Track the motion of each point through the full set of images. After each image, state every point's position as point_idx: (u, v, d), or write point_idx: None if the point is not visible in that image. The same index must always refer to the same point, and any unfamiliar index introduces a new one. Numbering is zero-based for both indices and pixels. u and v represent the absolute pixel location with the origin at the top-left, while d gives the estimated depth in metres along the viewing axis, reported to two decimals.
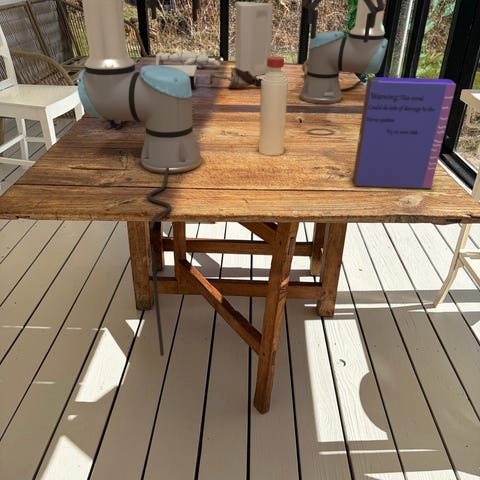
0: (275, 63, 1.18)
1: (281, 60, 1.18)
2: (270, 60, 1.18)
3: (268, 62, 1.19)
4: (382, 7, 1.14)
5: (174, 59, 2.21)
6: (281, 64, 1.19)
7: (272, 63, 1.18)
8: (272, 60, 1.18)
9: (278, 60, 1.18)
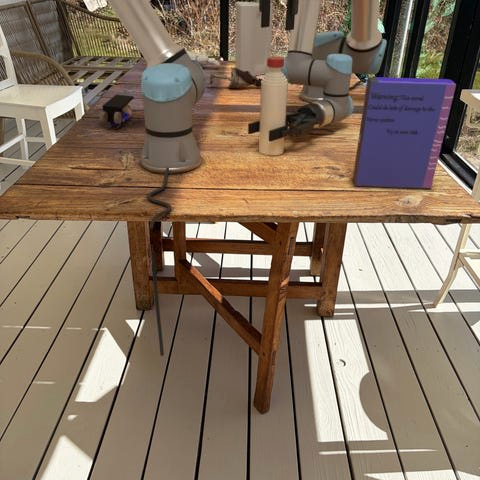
0: (275, 63, 1.18)
1: (281, 60, 1.18)
2: (270, 60, 1.18)
3: (268, 62, 1.19)
4: None
5: None
6: (281, 64, 1.19)
7: (272, 63, 1.18)
8: (272, 60, 1.18)
9: (278, 60, 1.18)
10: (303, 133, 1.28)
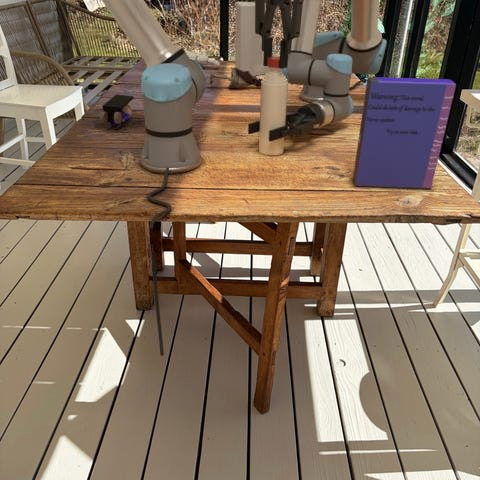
0: (275, 63, 1.18)
1: None
2: (270, 60, 1.18)
3: (268, 62, 1.19)
4: None
5: None
6: None
7: (272, 63, 1.18)
8: (272, 60, 1.18)
9: (278, 60, 1.18)
10: (303, 133, 1.28)
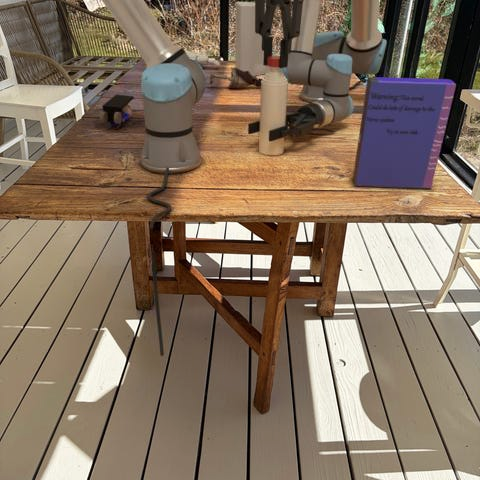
0: None
1: None
2: None
3: None
4: None
5: None
6: None
7: None
8: None
9: None
10: (303, 133, 1.28)
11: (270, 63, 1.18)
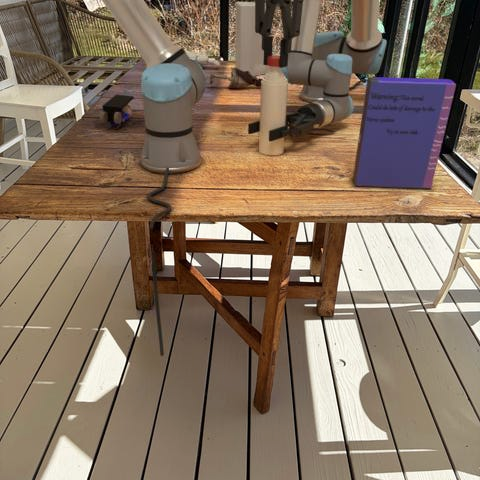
0: None
1: None
2: None
3: None
4: None
5: None
6: None
7: None
8: None
9: None
10: (303, 133, 1.28)
11: None
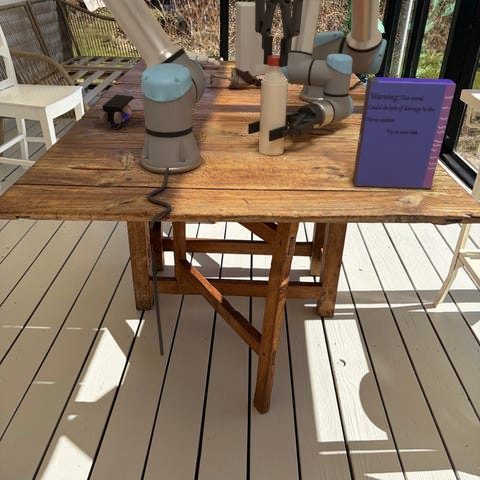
0: (270, 61, 1.18)
1: (276, 59, 1.17)
2: (267, 58, 1.19)
3: None
4: None
5: None
6: (276, 63, 1.18)
7: (268, 60, 1.19)
8: (268, 58, 1.18)
9: (273, 58, 1.18)
10: (303, 133, 1.28)
11: None
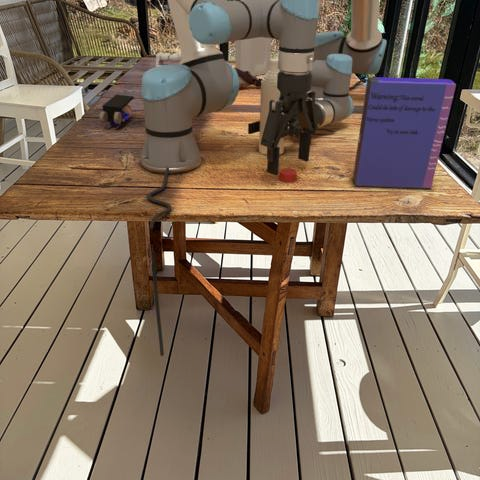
0: (294, 177, 1.14)
1: (296, 172, 1.15)
2: (289, 175, 1.13)
3: (285, 177, 1.14)
4: None
5: (174, 59, 2.21)
6: (296, 176, 1.15)
7: (291, 177, 1.13)
8: (291, 175, 1.13)
9: (296, 173, 1.14)
10: None
11: (279, 174, 1.16)
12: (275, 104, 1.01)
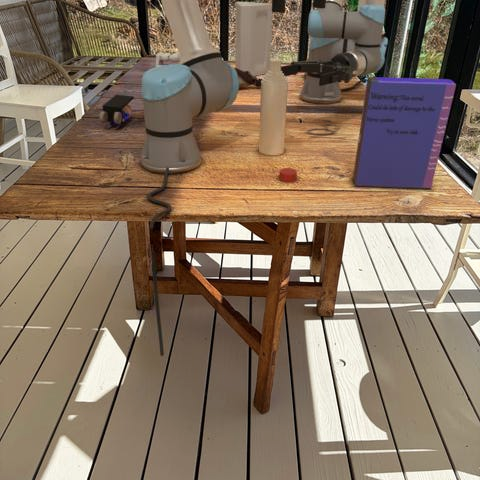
0: (294, 177, 1.14)
1: (296, 172, 1.15)
2: (289, 175, 1.13)
3: (285, 177, 1.14)
4: None
5: (174, 59, 2.21)
6: (296, 176, 1.15)
7: (291, 177, 1.13)
8: (291, 175, 1.13)
9: (296, 173, 1.14)
10: (349, 79, 1.29)
11: (279, 174, 1.16)
12: None
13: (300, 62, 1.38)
